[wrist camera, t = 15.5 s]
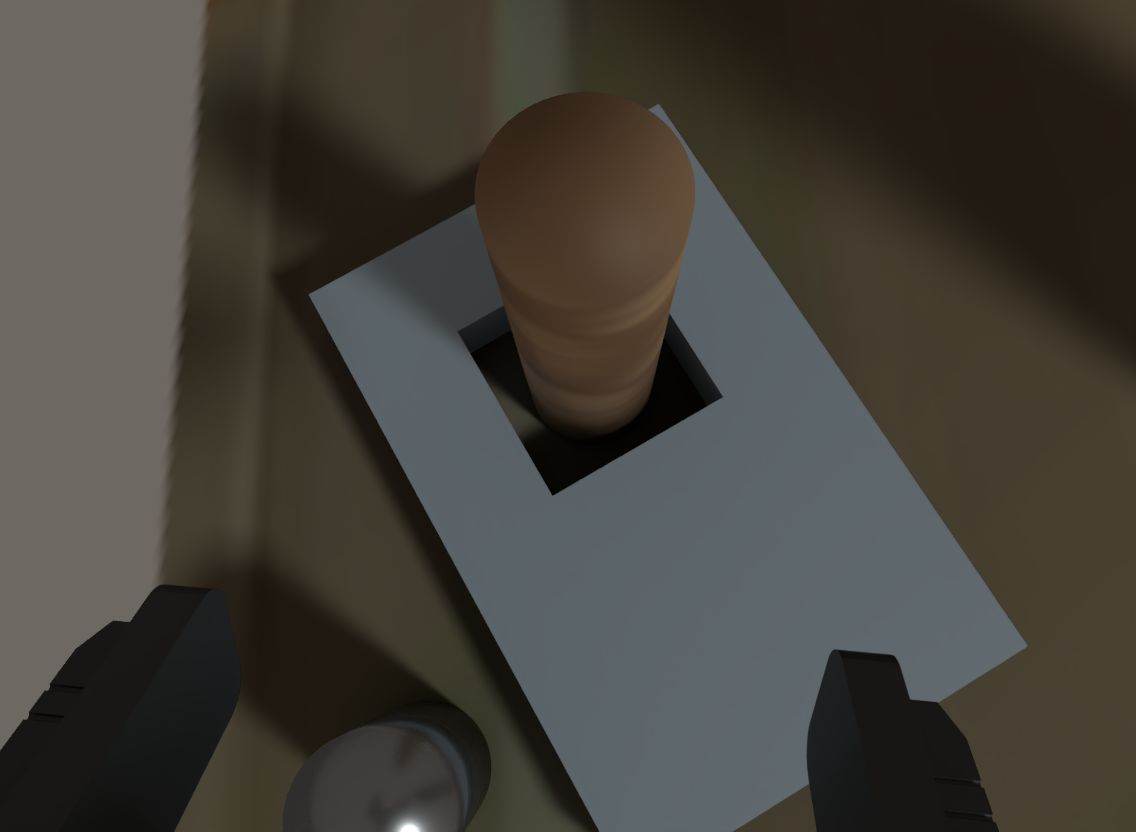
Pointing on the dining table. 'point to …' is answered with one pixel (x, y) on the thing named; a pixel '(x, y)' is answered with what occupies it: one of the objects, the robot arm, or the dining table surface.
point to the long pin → (586, 252)
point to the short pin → (394, 775)
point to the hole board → (671, 530)
